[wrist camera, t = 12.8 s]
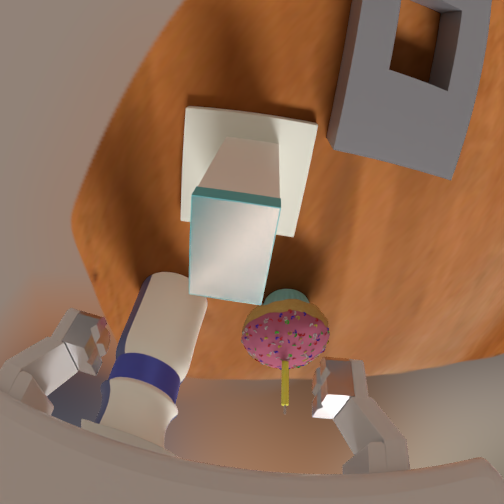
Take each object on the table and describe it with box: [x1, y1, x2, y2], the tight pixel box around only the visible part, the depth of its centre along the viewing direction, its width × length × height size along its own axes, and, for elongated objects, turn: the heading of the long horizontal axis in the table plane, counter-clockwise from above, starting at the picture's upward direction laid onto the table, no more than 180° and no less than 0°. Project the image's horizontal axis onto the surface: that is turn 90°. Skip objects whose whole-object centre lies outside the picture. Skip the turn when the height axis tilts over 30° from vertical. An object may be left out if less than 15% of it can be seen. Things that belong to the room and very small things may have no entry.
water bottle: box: [81, 272, 207, 457], centre depth 25 cm, size 8×8×25 cm
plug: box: [189, 136, 281, 305], centre depth 21 cm, size 4×6×11 cm
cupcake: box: [241, 289, 330, 414], centre depth 29 cm, size 9×8×12 cm
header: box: [326, 0, 492, 180], centre depth 17 cm, size 10×20×4 cm, turn 172°
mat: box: [181, 106, 318, 237], centre depth 26 cm, size 10×10×1 cm
